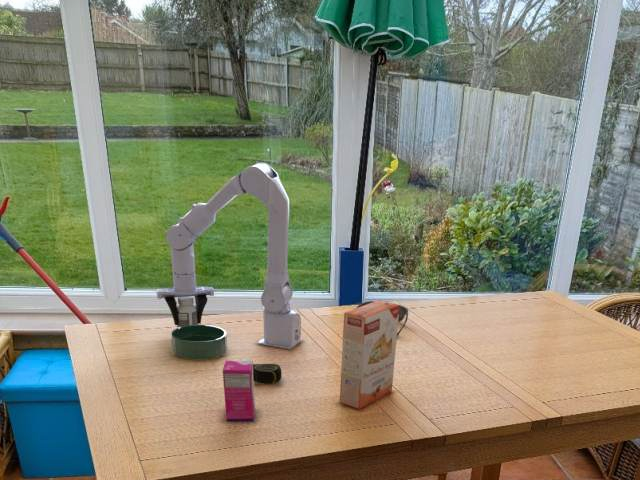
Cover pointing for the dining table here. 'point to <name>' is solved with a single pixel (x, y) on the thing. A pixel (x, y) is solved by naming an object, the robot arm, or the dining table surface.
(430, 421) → the dining table surface
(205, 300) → the robot arm
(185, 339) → the bowl
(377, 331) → the cracker box
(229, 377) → the supplement box
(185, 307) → the pill bottle
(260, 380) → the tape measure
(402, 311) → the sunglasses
